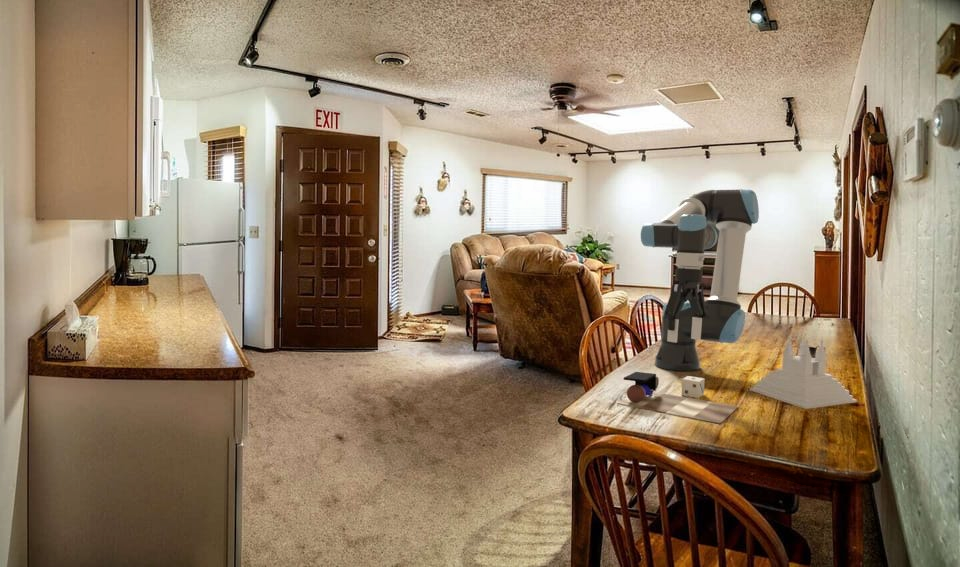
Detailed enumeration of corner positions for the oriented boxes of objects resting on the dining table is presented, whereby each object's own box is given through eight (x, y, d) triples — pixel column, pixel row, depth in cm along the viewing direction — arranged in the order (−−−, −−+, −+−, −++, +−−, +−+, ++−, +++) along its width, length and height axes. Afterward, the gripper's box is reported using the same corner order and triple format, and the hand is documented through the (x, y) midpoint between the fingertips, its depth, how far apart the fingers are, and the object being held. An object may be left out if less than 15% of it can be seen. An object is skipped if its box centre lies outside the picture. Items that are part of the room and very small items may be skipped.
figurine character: (636, 395, 186) (620, 401, 173) (637, 369, 186) (622, 374, 173) (658, 398, 183) (645, 405, 170) (660, 372, 183) (647, 377, 170)
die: (686, 392, 187) (687, 375, 187) (703, 395, 184) (704, 378, 184) (681, 395, 183) (682, 378, 183) (698, 398, 180) (699, 381, 180)
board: (640, 390, 188) (640, 389, 188) (738, 407, 171) (738, 406, 171) (616, 403, 173) (616, 402, 173) (720, 424, 157) (720, 423, 157)
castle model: (805, 409, 172) (810, 344, 170) (749, 391, 190) (753, 332, 188) (856, 403, 179) (861, 340, 177) (797, 385, 198) (801, 328, 196)
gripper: (678, 267, 169) (673, 344, 170) (721, 269, 186) (716, 339, 187) (654, 266, 175) (649, 341, 176) (698, 268, 192) (693, 336, 193)
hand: (684, 340), depth 181 cm, fingers open, 13 cm apart
